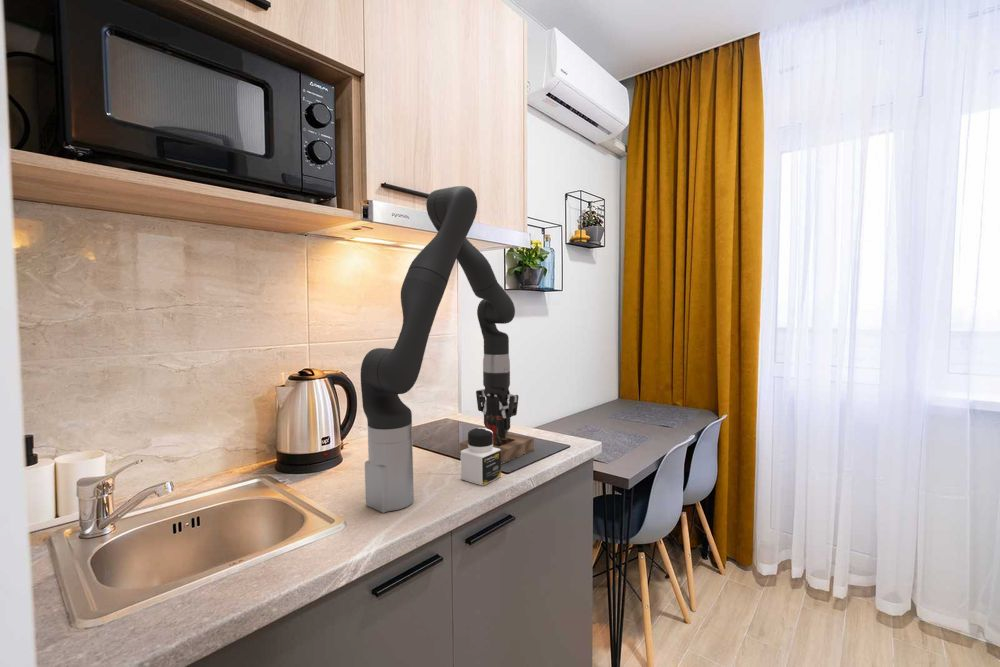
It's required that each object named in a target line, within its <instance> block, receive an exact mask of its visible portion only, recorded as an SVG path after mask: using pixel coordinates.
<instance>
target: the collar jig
mask: <svg viewBox="0 0 1000 667" xmlns="http://www.w3.org/2000/svg"><path fill="white" fill-rule="evenodd" d="M493 447H495V448H499V449H500V450H501V463H503V462H506V461H509V460H511V459H513V458H515V459H517V458H516V457H518V456H520V457H522V456H524V455H523V454H525V455H527V454H529V453H531V452H534V451H535V439H534V437H529V436H524V435H522V434H521V435H520V434H516V433H513V432H512V433H511V432H508V443H507V444H504V445H502V446H495V445H493ZM467 448H469V447H468V439H466V440H464V441H460V442H459V453H460V452H461V451H462V450H464V449H467ZM533 450H534V451H533ZM528 452H529V453H528ZM526 453H527V454H526ZM521 455H522V456H521ZM518 458H519V457H518ZM513 460H514V459H513ZM511 461H512V460H511ZM509 462H510V461H509ZM506 463H507V462H506Z"/></svg>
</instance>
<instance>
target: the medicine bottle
mask: <svg viewBox="0 0 1000 667" xmlns="http://www.w3.org/2000/svg"><path fill="white" fill-rule="evenodd" d="M467 440H468V447H469V448H467V449H464V450H462V451H461V452H460V451H459V454H460V453H461V455H460V479H461V480H462V481H465V482H469V483H473V484H475V485H479V486H485V485H488V484H489V483H491V482H494V481H495V480H497V479H499V478H501V477H502V465H501V450H500V449H499V448H495V447H493V432H492V431H491V430H489V429H487V427H485V428H484V427H476V428H473V429H471V430H468V432H467Z"/></svg>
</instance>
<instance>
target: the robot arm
mask: <svg viewBox="0 0 1000 667" xmlns="http://www.w3.org/2000/svg"><path fill="white" fill-rule="evenodd" d="M427 196H428V197H427V198H426V203H425V204H426V206H425V207H426V212H427V216H428V217H429V220H430V222H431V223H432V225H433V226H434V228H435V230H436V231H437V233H436V234H435V236H434V237H433V238H432V239H431V240H430V242H428V244H426V245H425V246H424V248H422V249H421V251H420V252H418V254H417V255H416V257H414V259H412V262H411V264H410V265H409V267H408V270H407V272H406V275H405V277H404V280H403V282H402V286H401V288H400V304H401V310H402V326H401V329H400V332H399V335H398V337H397V338H398V339H397V340H396V343H395V345H394V346H393V348H386V347H384V348H383V347H377V348H376V347H375V348H373V349H371V350H369V351H368V352H367V353H366V354H365V355H364V357H363V359H362V363H361V366H360V387H361V389H360V390H361V399H362V400H361V401H362V409H363V413H364V414H365V417H366V421H367V446H368V447H367V449H368V460H365V462H364V483H365V485H364V488H365V489H364V490H365V505H366V506H367V507H369V508H371V509H373V510H376V511H377V512H381V513H382V514H383V513H386V512H391V511H398V510H402V509H404V508H407V507H409V506H411V505H412V504H413V503H414V501H415V498H414V496H415V490H414V456H413V455H414V454H413V453H414V452H413V414H412V413H413V412H412V410H411V408H410V407H409V406H407V405H406V404H405V403H404V402H403V401H402V400H401V398H400V395H404V394H406V393H408V392H410V390H411V389H413V387H414V385H415V384H416V383H417V380H418V377H419V374H420V373H421V368H422V365H423V360H424V355H425V353H426V348H427V344H428V340H429V336H430V333H431V330H432V328H433V325H434V321H435V318H436V315H437V312H438V310H439V307H440V304H441V302H442V299H443V297H444V294H445V291H446V289H447V286H448V283H449V280H450V277H451V274H452V271H453V269H454V265H455V264H456V261H457V263H458V264H459V266H460V267H461V269H462V272H463V273H464V275H465V278H466V279H467V282H468V283H469V286H470V288H471V290H472V292H473V294H474V295H475V297H477V298H479V299H481V300H480V301H479V303H478V304H477V309H476V310H477V311H476V313H477V314H476V315H477V320H478V323H479V328H480V331H481V335H482V339H483V360H482V374H483V375H482V378H483V380H482V383H483V384H482V385H483V387H484V389H477V390H476V391H475V396H476V405H477V410H478V411H479V412H481V413H482V414H483V425H484V427H485V428H487V415H486V395H487V396H494V397H497V398H498V397H502V403H504V402H505V401H507V406H504V407H503V406H502V403H501V402H500V401H499V410H500V411H501V413H502V416H503V418H502V430H503V431H509V430H511V418H512V417H514V416H517V414H518V406H519V405H518V404H519V395H518V394H512V393H511V392H510V389H509V388H510V385H511V361H510V360H511V359H510V345H509V344H510V343H509V342H510V340H509V339H510V338H509V335H508V334H507V333H506V332H503V331H500V330H499V329H498V327H497V324H499V325H501V324H502V325H503V324H506V325H507V324H509V323H511V322H512V321H513V320H514V317H515V315H516V308H515V304H514V302H513V299H511V296H509V295H508V293H507V292H506V290H504V288H503V287H502V286H501V285H500V284H499V282H498V280H497V277H496V275H495V273H494V270H493V269H492V266H491V264H490V262H489V260H488V259H487V258H486V257H485V256H484V253H483V254H482V252H481V251H480V250H479V249H478V248H476V246H475V245H473V244H472V243H471V242H470V240H468V238H467V236H468V234H469V232H470V230H471V228H472V225H473V224H474V222H475V219H476V216H477V212H478V200H477V196H476V193H475V192H474V190H473V189H472V188H470V186H469V187H468V186H465V185H460V186H459V185H457V186H449V187H446V188H445V187H444V188H440V189H436V190H433V191H431V192H430V193H429V195H427ZM498 400H499V399H498ZM505 409H506V411H505Z"/></svg>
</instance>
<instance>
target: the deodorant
mask: <svg viewBox="0 0 1000 667" xmlns="http://www.w3.org/2000/svg"><path fill="white" fill-rule="evenodd" d="M485 399H486V415H487V427H486V429H489V430H491V431H492V432H493V445H495V446H502V445H504V444H507V443H508V433H509V432H508V431H509V430H508V431H503V430H502V418H503V416H502V413H501V411H500V410H499V401H500V402H501V403H502V397H498V398H497V397H494V396H487V395H486V396H485ZM498 399H499V400H498ZM502 406H503V407H504V406H507V401H505V402H504V403H502ZM505 411H506V409H505Z"/></svg>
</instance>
